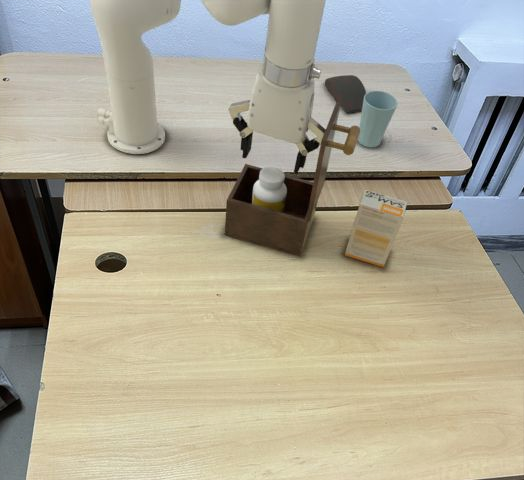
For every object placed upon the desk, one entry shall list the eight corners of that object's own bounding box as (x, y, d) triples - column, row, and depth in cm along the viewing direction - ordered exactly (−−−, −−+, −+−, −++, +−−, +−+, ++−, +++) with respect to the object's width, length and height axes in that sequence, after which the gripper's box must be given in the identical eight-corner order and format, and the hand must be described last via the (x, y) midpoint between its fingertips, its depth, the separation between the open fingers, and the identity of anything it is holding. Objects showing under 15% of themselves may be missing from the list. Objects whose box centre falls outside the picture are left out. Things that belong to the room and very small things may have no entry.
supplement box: (387, 252, 108) (409, 201, 97) (383, 268, 105) (404, 217, 94) (348, 239, 108) (365, 187, 98) (343, 255, 106) (359, 203, 95)
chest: (224, 235, 106) (226, 199, 98) (242, 198, 112) (245, 163, 105) (300, 256, 104) (307, 222, 97) (313, 219, 111) (321, 184, 104)
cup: (369, 127, 132) (381, 86, 123) (390, 144, 129) (404, 104, 120) (346, 136, 129) (357, 95, 120) (368, 154, 126) (380, 113, 117)
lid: (321, 139, 83) (353, 147, 83) (336, 101, 90) (366, 108, 89) (306, 220, 97) (333, 227, 96) (320, 182, 103) (346, 188, 103)
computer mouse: (346, 81, 143) (350, 66, 140) (371, 110, 136) (376, 95, 133) (320, 85, 140) (323, 70, 137) (344, 114, 134) (347, 99, 130)
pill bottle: (278, 236, 106) (286, 189, 96) (246, 229, 106) (251, 181, 96) (284, 215, 109) (292, 167, 100) (253, 208, 110) (258, 160, 100)
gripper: (345, 71, 84) (322, 162, 98) (241, 41, 85) (232, 136, 99) (336, 96, 79) (312, 187, 94) (225, 64, 80) (219, 160, 95)
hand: (271, 161), depth 96 cm, fingers open, 9 cm apart
